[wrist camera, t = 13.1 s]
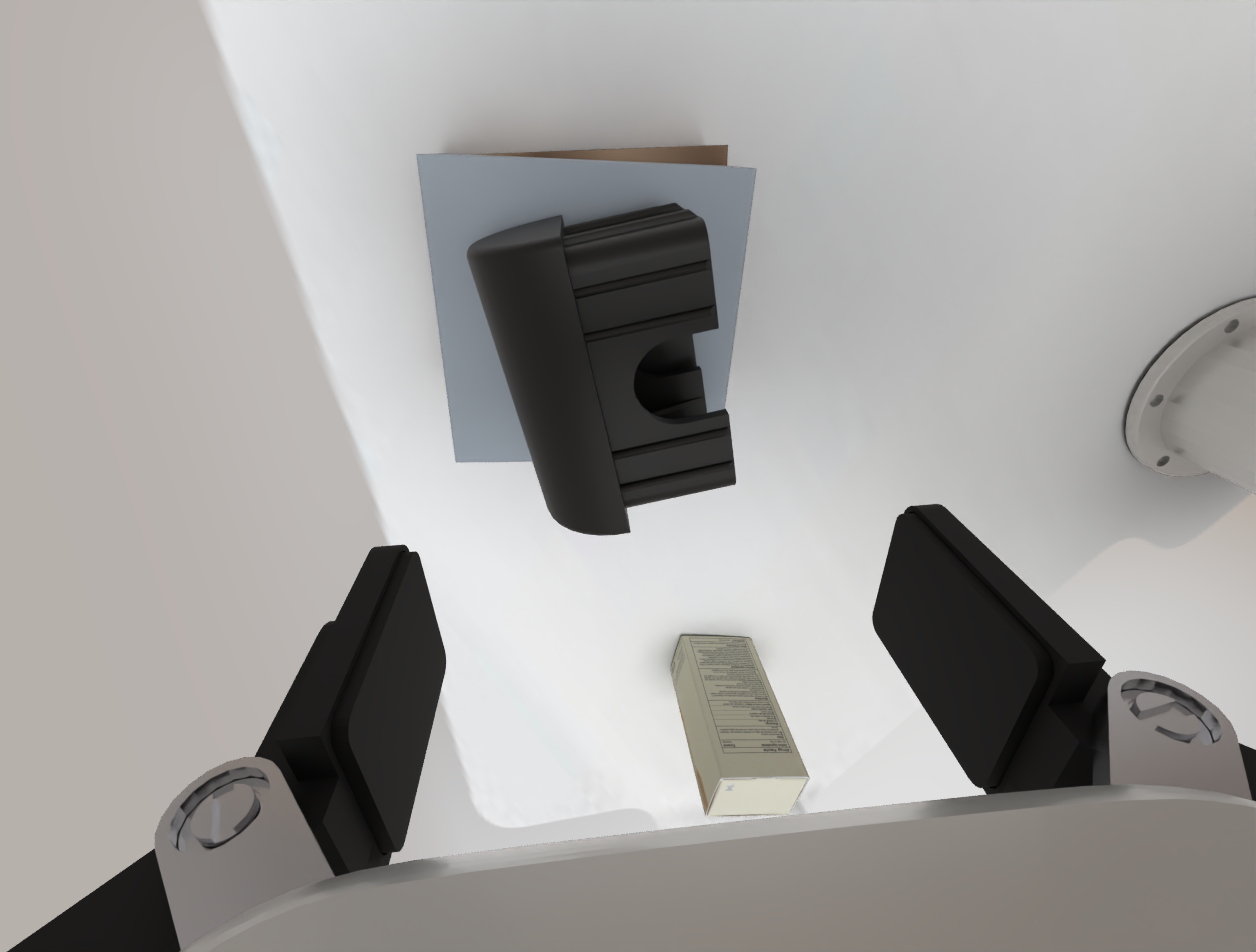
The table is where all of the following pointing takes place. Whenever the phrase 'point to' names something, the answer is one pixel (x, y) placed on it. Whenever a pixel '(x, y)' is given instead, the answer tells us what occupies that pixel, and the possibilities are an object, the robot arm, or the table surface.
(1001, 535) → the table surface
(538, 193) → the slate top block
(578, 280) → the end cap
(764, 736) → the skincare box
